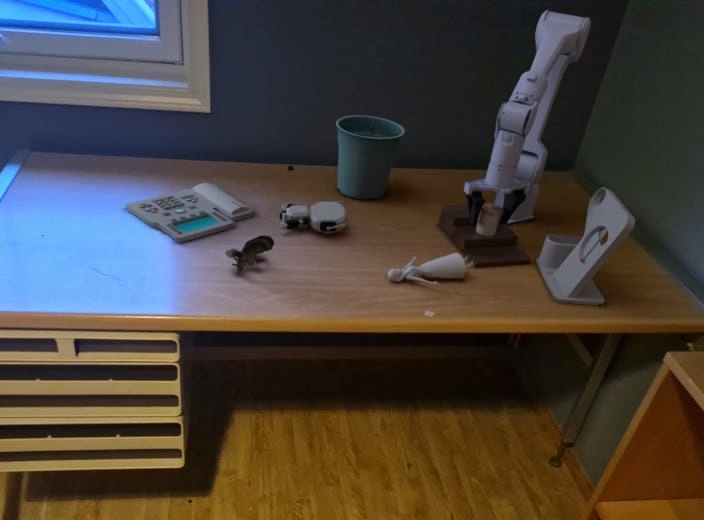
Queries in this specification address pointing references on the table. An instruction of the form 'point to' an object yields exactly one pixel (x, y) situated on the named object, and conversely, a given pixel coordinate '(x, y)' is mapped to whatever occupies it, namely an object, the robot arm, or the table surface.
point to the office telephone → (191, 212)
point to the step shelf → (480, 239)
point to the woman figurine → (433, 269)
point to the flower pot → (366, 154)
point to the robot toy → (314, 216)
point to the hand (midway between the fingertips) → (487, 222)
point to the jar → (488, 219)
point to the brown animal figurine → (251, 252)
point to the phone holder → (585, 251)
